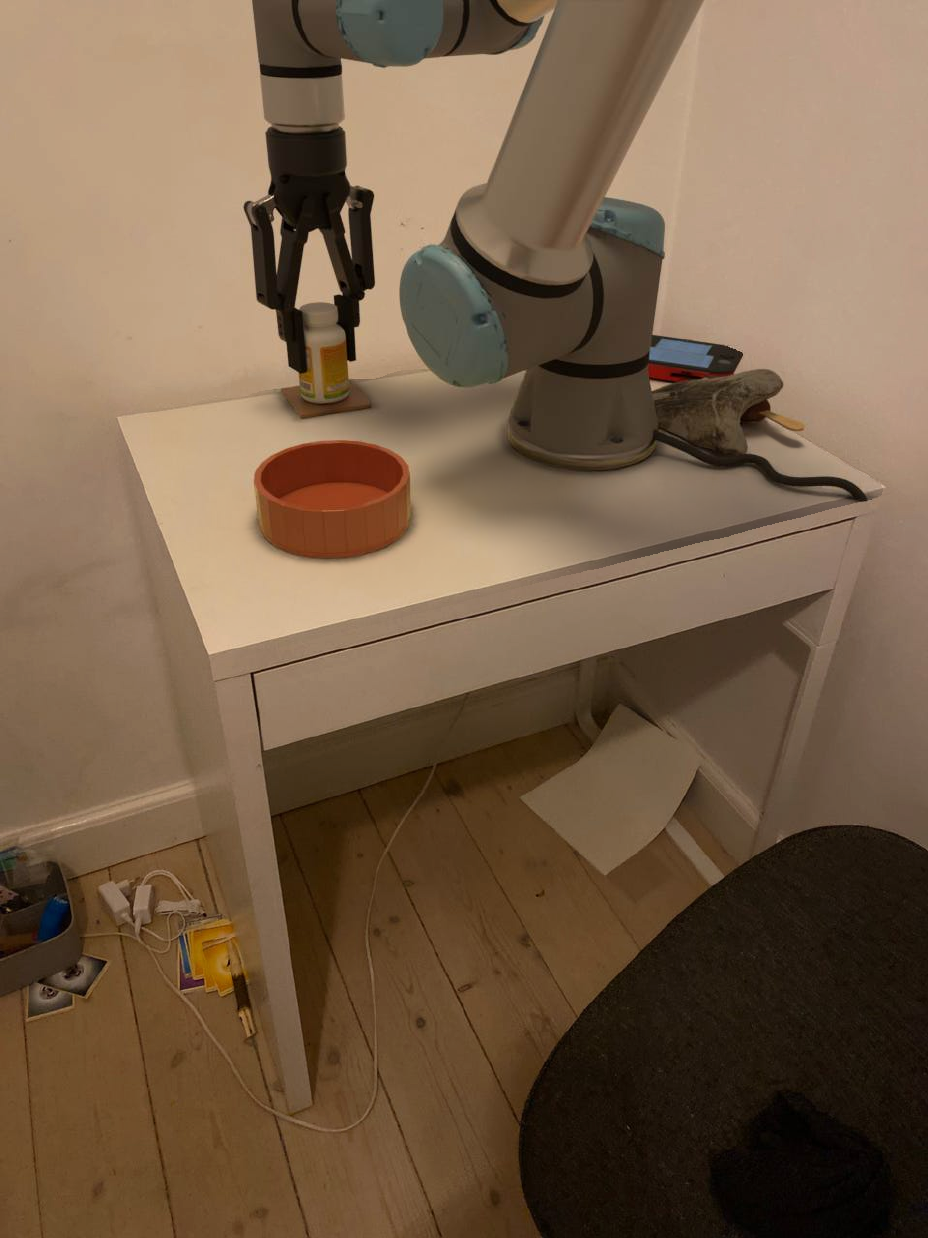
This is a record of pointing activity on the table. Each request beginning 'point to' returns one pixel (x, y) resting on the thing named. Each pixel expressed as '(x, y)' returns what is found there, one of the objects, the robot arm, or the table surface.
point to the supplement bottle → (324, 355)
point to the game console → (690, 359)
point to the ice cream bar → (766, 414)
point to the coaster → (313, 409)
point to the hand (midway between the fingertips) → (322, 362)
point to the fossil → (714, 407)
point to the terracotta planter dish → (333, 498)
